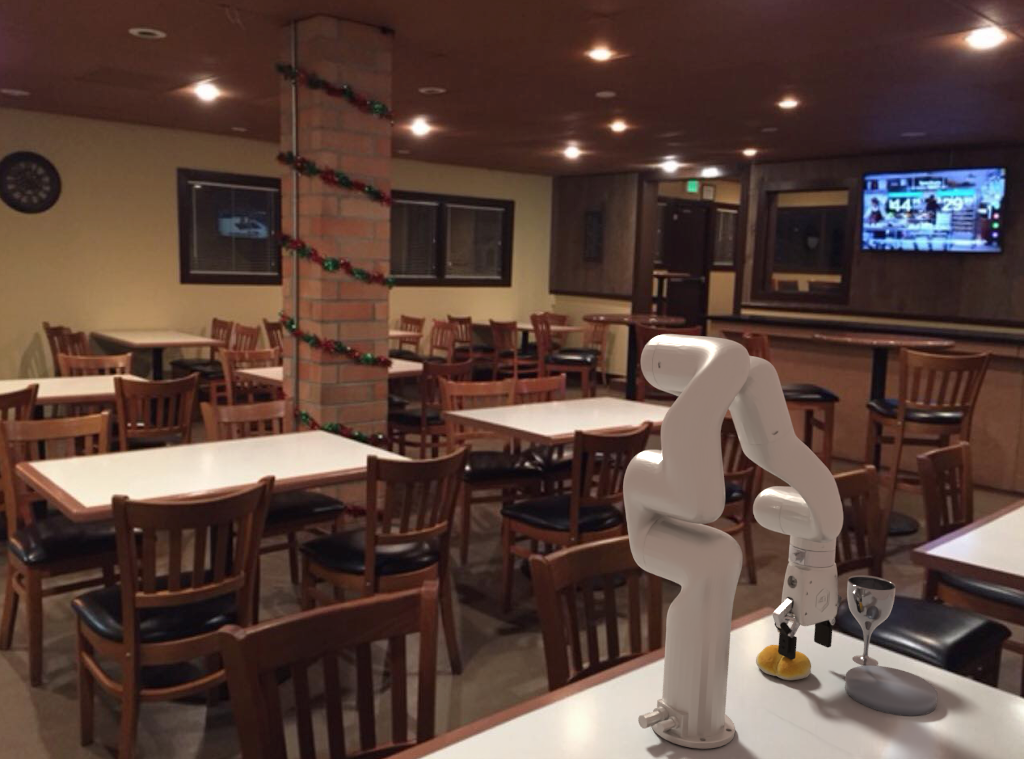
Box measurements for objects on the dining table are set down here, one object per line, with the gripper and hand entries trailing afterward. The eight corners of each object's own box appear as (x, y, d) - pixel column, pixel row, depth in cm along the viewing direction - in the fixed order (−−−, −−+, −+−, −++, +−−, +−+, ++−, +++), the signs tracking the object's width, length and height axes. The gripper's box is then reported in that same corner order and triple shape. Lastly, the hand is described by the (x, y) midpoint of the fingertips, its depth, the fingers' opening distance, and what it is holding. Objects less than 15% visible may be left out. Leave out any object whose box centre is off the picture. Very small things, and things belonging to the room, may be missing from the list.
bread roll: (800, 686, 146) (800, 663, 146) (750, 671, 152) (751, 649, 152) (819, 669, 153) (819, 647, 152) (770, 656, 158) (771, 634, 158)
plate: (904, 724, 136) (905, 711, 135) (827, 688, 147) (828, 676, 147) (953, 702, 143) (954, 691, 143) (876, 670, 155) (877, 659, 155)
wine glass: (840, 650, 163) (846, 572, 161) (886, 657, 161) (893, 578, 159) (842, 667, 155) (849, 586, 154) (891, 675, 153) (898, 592, 151)
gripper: (797, 569, 143) (790, 669, 144) (861, 554, 152) (853, 648, 154) (761, 557, 149) (754, 653, 151) (824, 542, 158) (817, 633, 160)
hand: (804, 650), depth 152 cm, fingers open, 9 cm apart
